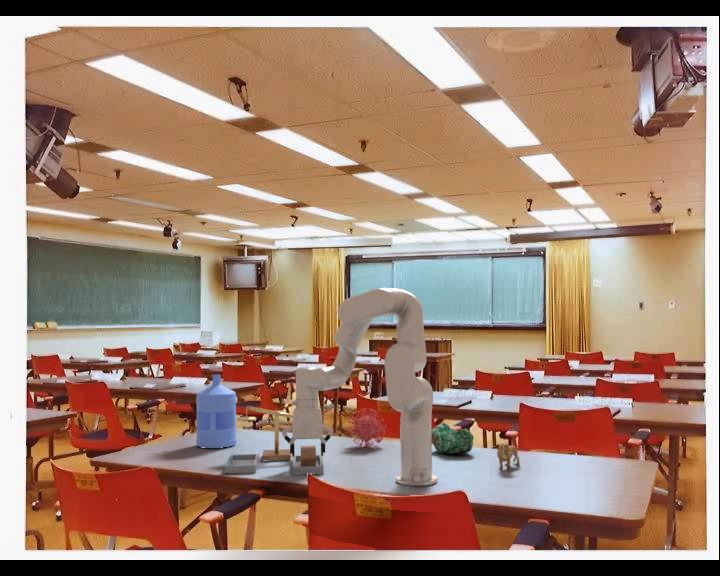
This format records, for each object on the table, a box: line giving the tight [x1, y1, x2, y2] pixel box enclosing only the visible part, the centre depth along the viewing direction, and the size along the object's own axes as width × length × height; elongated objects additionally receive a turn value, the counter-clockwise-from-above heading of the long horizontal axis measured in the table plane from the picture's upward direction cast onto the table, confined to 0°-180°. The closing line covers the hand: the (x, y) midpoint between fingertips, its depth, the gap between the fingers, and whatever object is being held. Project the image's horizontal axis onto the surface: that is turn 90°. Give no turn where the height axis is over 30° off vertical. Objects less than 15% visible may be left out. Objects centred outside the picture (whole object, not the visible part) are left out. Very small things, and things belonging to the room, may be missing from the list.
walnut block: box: [300, 445, 317, 466], centre depth 222 cm, size 5×5×6 cm
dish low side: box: [291, 454, 325, 476], centre depth 222 cm, size 18×10×2 cm, turn 5°
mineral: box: [431, 422, 474, 455], centre depth 244 cm, size 18×16×10 cm
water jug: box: [195, 374, 237, 448], centre depth 264 cm, size 16×16×28 cm
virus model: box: [347, 407, 387, 448], centre depth 257 cm, size 15×15×15 cm
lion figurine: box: [496, 442, 521, 471], centre depth 219 cm, size 15×5×9 cm, turn 154°
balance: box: [236, 405, 293, 461], centre depth 239 cm, size 10×28×19 cm, turn 95°
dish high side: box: [224, 453, 260, 474], centre depth 225 cm, size 18×10×2 cm, turn 5°
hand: (307, 455), depth 222 cm, fingers open, 9 cm apart
